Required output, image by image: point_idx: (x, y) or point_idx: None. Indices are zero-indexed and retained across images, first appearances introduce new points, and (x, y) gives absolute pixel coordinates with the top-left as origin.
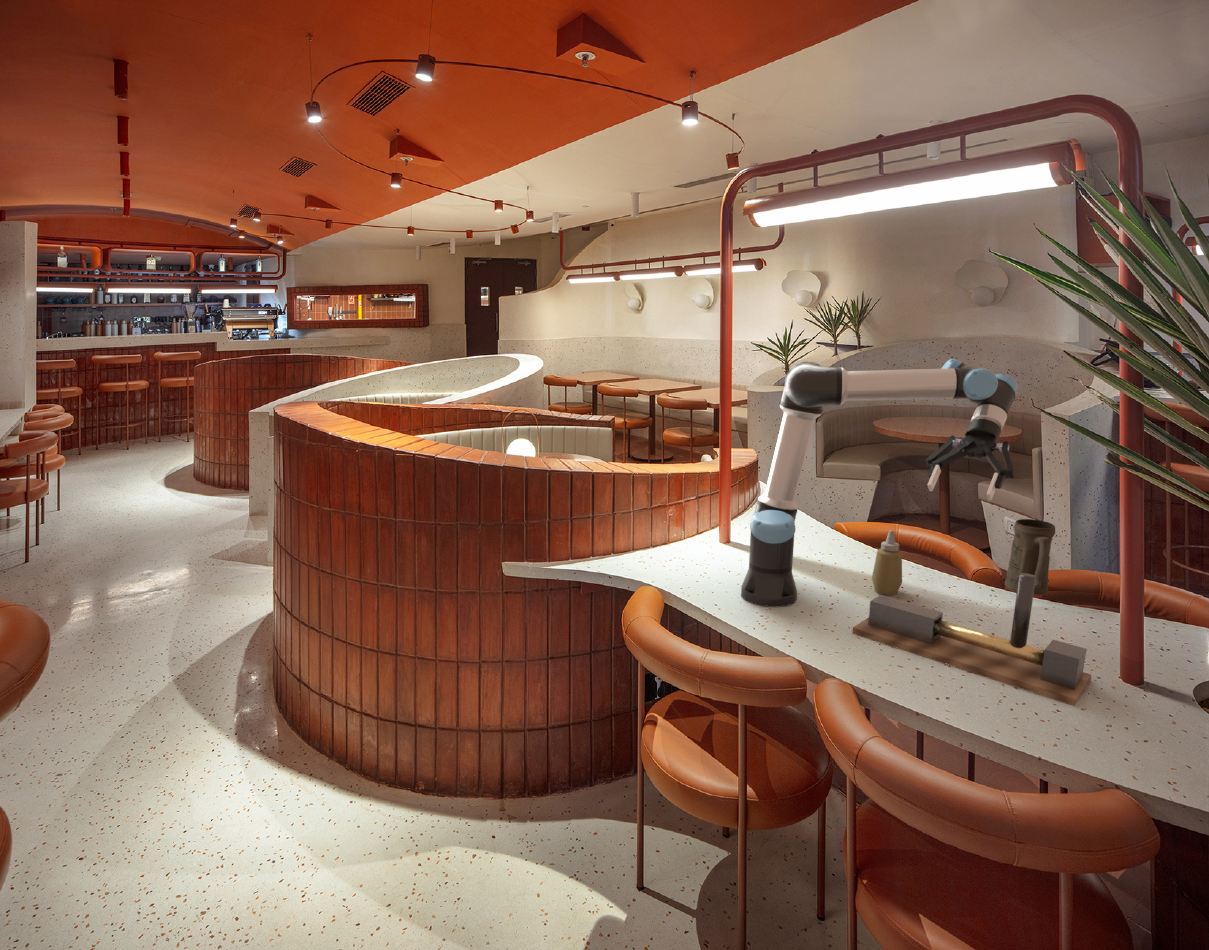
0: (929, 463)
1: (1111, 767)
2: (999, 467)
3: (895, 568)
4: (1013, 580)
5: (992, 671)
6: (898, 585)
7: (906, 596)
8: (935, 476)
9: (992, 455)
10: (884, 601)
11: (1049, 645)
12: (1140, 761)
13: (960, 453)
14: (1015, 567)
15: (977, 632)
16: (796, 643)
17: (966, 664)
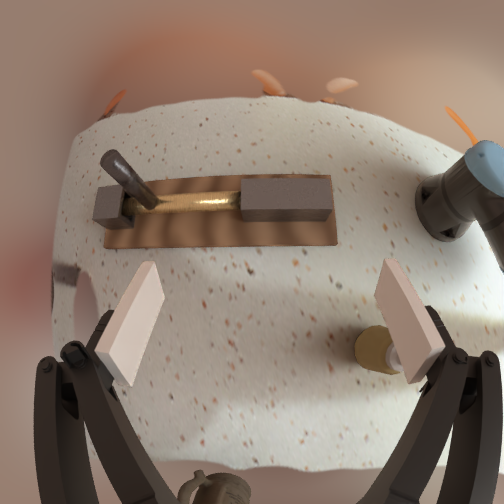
0: (472, 356)
1: (104, 130)
2: (84, 387)
3: (370, 339)
4: (234, 483)
5: (175, 180)
6: (355, 344)
7: (340, 352)
8: (402, 311)
9: (119, 485)
10: (315, 189)
11: (119, 197)
12: (89, 149)
13: (371, 499)
14: (232, 494)
15: (192, 196)
16: (347, 124)
17: (199, 177)
